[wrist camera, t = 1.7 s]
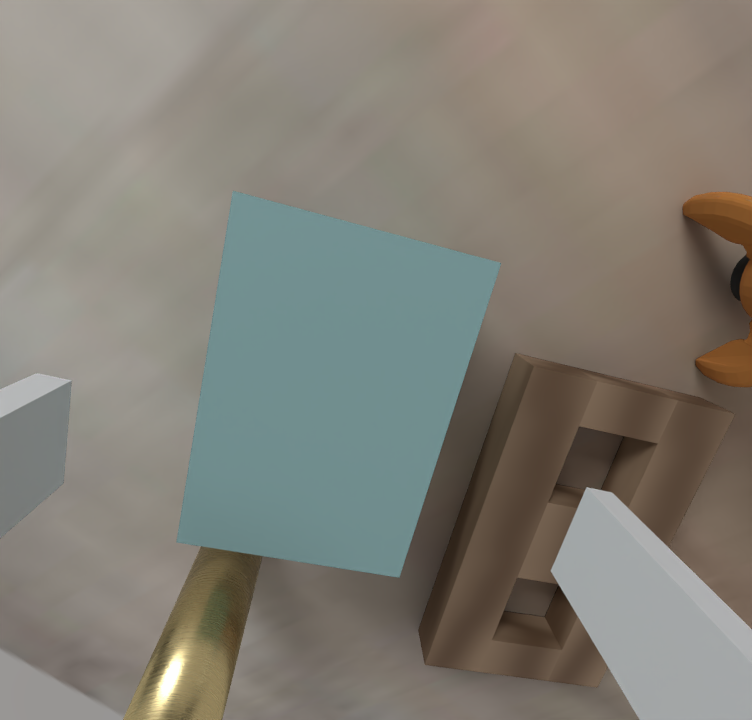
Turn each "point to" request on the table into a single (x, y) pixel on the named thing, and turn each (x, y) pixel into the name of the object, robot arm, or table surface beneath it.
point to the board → (556, 512)
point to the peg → (199, 641)
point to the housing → (327, 387)
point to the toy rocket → (748, 281)
